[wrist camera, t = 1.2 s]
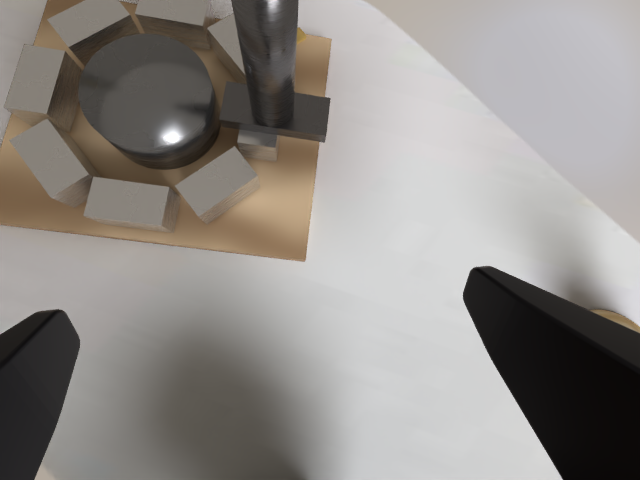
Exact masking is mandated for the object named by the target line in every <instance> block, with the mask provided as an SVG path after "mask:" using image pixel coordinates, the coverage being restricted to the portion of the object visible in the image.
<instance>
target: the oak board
mask: <svg viewBox="0 0 640 480" xmlns="http://www.w3.org/2000/svg"><path fill="white" fill-rule="evenodd" d="M83 1H85V0H48V1H47V4H46V7H45V10H44V13H43V16H42V20H41V23H40V26H39V29H38V32H37V35H36V38H35V41H34V45H33V46H38V47H45V48H51V49H57V50H63V51H66V52H67V54H68V55H69V56H70V57H71V58H72V59H73V60H74V61H75V63H76V64H77V65H78V66H79V67H80V68H81V69H82V70H84V68H85V66H84V65H83V64H82V63H81V61H80V60H79V59H78V58H77V57H76V56H75V54H74V53H73V52H72V51H71V50H70V49H69V47H68V46H67V45H66V44H65V42H64V41H63V40H62V38H61V37H60V36H59V34H58V33H57V32H56V31H55V29H54V28H53V27H52V25H51V24H50V23H49V21H48V20H47V19H49V18H51V17H53V16H55V15H57V14H59V13H61V12H63V11H65V10H67V9H69V8H71V7H73V6H75V5H77V4H79V3H81V2H83ZM120 3H121V4H122V5H123V6H124V8H125V9H126V10H127V11H128V13H129V14H130V16H131V17H132V19H133V21H134V23H135V25H136V26H137V28H138V30H139V32H140V34H145V32H144V30H143V28H142V26H141V24H140V22H139V21H138V19H137V17H136V15H135V12H136V8H137V4H133V3H127V2H122V1H120ZM220 20H222V19H217V18H215V21H216V23H217V22H219V21H220ZM331 40H332V39H329V38H324V37H318V36H312V35H307V34H305V33H304V32H303V31H302V30H301V29H300V28H297V46H296V70H295V92H296V93H302V94H308V95H314V96H320V97H325V90H326V82H327V74H328V65H329V57H330V48H331ZM189 48H190V49H192V50H193V51H194V52H195V53H196V54H197V55H198V56H199V57H200V59H201V60H202V62H203V63H204V65H205V67H206V69H207V71H208V73H209V76H210V79H211V82H212V85H213V88H214V91H215V94H216V97H217V100H218V103H219V106H220V109H221V107H222V101H223V96H224V91H225V85H226V81H229V82H235V83H238V81H237V80H236V79H235V78H234V76H233V75H232V74H231V73H230V72H229V70H228V69H227V68H226V67H225V65H224V64H223V63H222V62H221V60H220V59H219V58H218V57H217V56H216V54H215V53H214V51H213V47H212V44H211V49H210V50H205V49H199V48H193V47H189ZM31 127H32V126H30V125H29V124H27V123H26V122H24V121H23V120H21V119H20V118H19V117H17V116H16V115H14V114H13V113H12V114H11V117H10V120H9V123H8V126H7V129H6V132H5V136H4V139H3V142H2V145H1V148H0V225H6V226H15V227H23V228H31V229H39V230H48V231H56V232H64V233H72V234H81V235H89V236H97V237H105V238H114V239H122V240H130V241H138V242H147V243H155V244H163V245H171V246H180V247H188V248H196V249H204V250H213V251H221V252H229V253H237V254H246V255H254V256H262V257H270V258H279V259H287V260H295V261H303V262H305V259H306V251H307V242H308V234H309V225H310V217H311V208H312V200H313V192H314V183H315V175H316V166H317V158H318V149H319V142H318V141H312V140H305V139H298V138H292V137H285V136H280V141H279V148H278V155H277V162H273V161H266V160H259V159H252V158H245V157H244V159H245V160H246V161H247V162H248V164H249V165H250V166H251V167H252V169H253V170H254V171H255V172H256V174H257V175H258V178H259V182H260V188H259V189H257V190H256V191H254V192H253V193H252V194H250V195H249V196H247V197H246V198H245V199H243V200H242V201H240V202H239V203H237V204H236V205H235V206H233V207H232V208H230V209H229V210H227V211H226V212H225V213H223V214H222V215H220V216H219V217H218V218H216V219H215V220H213V221H212V222H210V223H209V224H208V225H207V224H206V223H205V222H203V221H202V220H201V219H200V218H199V217H198V216H197V214H196V213H195V212H194V210H193V209H192V208H191V206H190V205H189V204H188V203H187V201H186V200H185V199H184V197H183V196H182V195H181V193H180V192H179V191H178V189H177V188H176V187H175V185H177V184H178V183H180V182H181V181H183V180H184V179H186V178H187V177H189V176H190V175H192V174H193V173H195V172H196V171H198V170H199V169H201V168H202V167H204V166H205V165H207V164H208V163H210V162H211V161H213V160H214V159H216V158H217V157H219V156H220V155H222V154H223V153H225V152H226V151H228V150H230V149H231V148H233V147H234V146H235V147H236V148H237V150H238V151H239V152H240V149H239V146H238V143H237V141H238V135H239V129H233V128H226V127H222V126H221V128H220V132H219V135H218V137H217V140H216V141H215V143H214V145H213V146H212V147H211V149H210V150H209V151H208V152H207V153H206V154H205V155H204V156H202V157H201V158H200V159H198V160H197V161H195V162H193V163H191V164H189V165H187V166H184V167H180V168H176V169H170V170H158V169H151V168H147V167H144V166H141V165H138V164H136V163H134V162H132V161H131V160H129V159H128V158H127V157H125V156H124V155H123V154H122V153H121V152H120V151H119V150H117V149H116V148H115V147H114V146H113V145H112V144H111V143H110V142H108V141H107V140H106V139H105V138H104V137H103V136H102V135H101V134H99V133H98V132H97V131H96V130H95V129H94V128H93V127H92V126H91V125H90V124H89V122H88V121H87V119H86V118H85V116H84V114H83V112H82V110H81V107H80V103H79V102H78V105H77V109H76V113H75V116H74V120H73V123H72V127H71V131H70V132H66V131H65V132H66V133H67V134H68V135H70V136H71V137H72V138H73V140H74V141H75V143H76V144H77V145H78V147H79V148H80V149H81V151H82V152H83V153H84V155H85V156H86V157H87V159H88V160H89V161H90V163H91V164H92V165H93V167H94V168H95V169H96V171H97V172H98V173H99V175H100V176H101V177H102V178H107V179H114V180H121V181H129V182H136V183H144V184H151V185H158V186H166V187H170V188H171V189H172V190H173V191H174V192H175V193H176V194H177V195H178V196H179V197H180V198H181V200H180V205H179V210H178V215H177V220H176V225H175V230H174V233H169V232H161V231H153V230H145V229H137V228H129V227H121V226H113V225H105V224H102V223H99V222H97V221H94V220H92V219H90V218H87V217H85V216H83V215H84V211H85V207H86V203H87V201H85V202H83V203H82V204H80V205H79V206H77V207H76V208H74V207H71V206H69V205H67V204H64V203H62V202H60V201H57V200H55V199H53V198H51V197H50V196H49V195H48V193H47V192H46V191H45V189H44V188H43V186H42V185H41V184H40V182H39V181H38V180H37V178H36V177H35V175H34V174H33V173H32V171H31V170H30V169H29V167H28V166H27V164H26V163H25V162H24V160H23V159H22V158H21V156H20V155H19V153H18V152H17V151H16V149H15V148H14V147H13V145H12V144H11V142H10V141H9V140H10V139H12V138H14V137H15V136H17V135H19V134H21V133H23V132H24V131H26V130H28V129H30V128H31Z"/></svg>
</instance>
